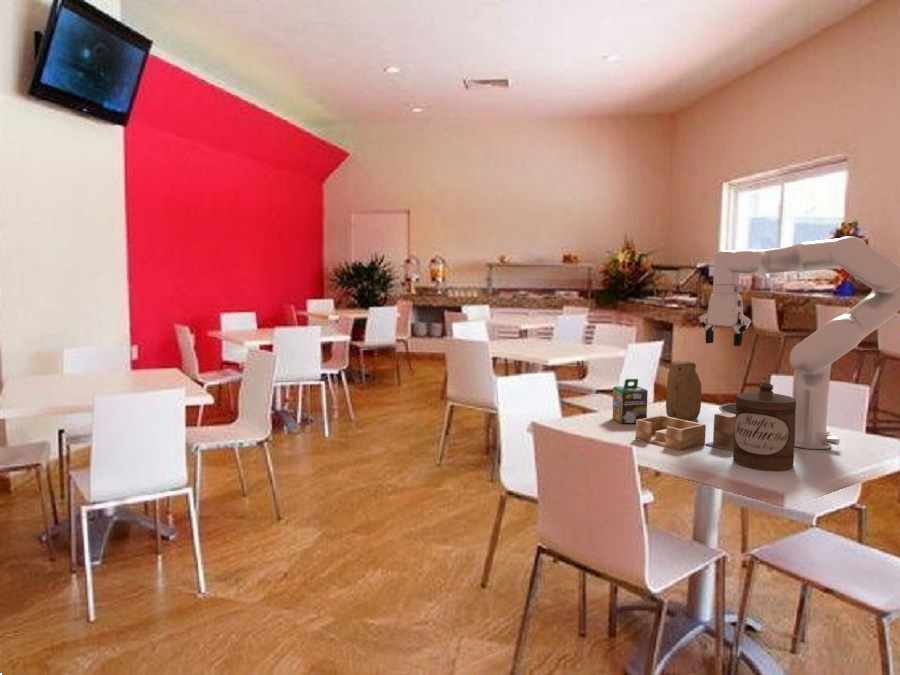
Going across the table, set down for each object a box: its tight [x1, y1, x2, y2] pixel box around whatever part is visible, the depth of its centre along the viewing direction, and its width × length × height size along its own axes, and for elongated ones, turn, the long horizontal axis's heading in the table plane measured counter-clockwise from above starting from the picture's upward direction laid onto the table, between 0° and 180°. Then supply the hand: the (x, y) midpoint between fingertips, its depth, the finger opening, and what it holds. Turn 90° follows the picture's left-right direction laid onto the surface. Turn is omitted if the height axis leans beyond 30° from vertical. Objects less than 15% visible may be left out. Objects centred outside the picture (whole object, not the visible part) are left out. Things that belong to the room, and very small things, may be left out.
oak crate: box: [634, 414, 707, 451], centre depth 206 cm, size 16×12×6 cm
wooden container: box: [732, 382, 796, 472], centre depth 183 cm, size 15×15×22 cm
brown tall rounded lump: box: [665, 360, 702, 421], centre depth 238 cm, size 11×8×20 cm
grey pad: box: [705, 441, 734, 452], centre depth 202 cm, size 8×8×1 cm
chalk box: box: [612, 378, 649, 424], centre depth 233 cm, size 9×9×15 cm
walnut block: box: [712, 411, 736, 448], centre depth 201 cm, size 5×5×9 cm
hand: (723, 344), depth 216 cm, fingers open, 9 cm apart
